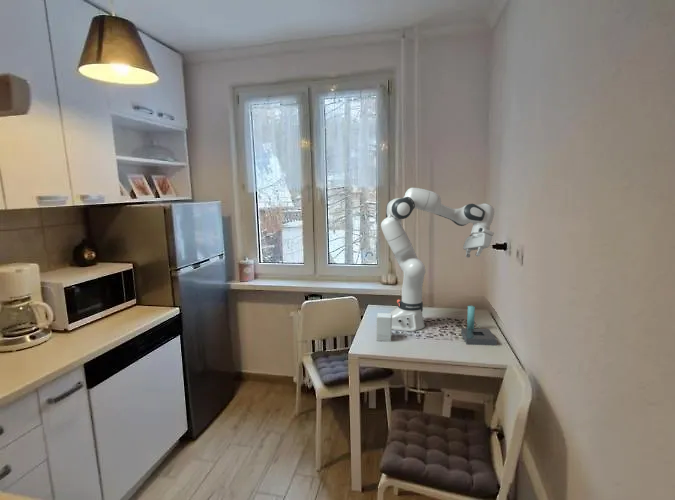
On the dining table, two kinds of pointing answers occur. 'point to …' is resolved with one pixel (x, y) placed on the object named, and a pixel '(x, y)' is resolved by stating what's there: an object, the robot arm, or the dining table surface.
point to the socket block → (478, 336)
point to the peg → (470, 317)
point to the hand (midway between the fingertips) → (472, 256)
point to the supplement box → (384, 326)
